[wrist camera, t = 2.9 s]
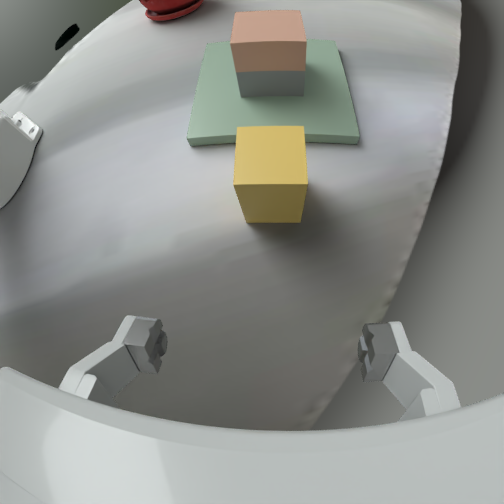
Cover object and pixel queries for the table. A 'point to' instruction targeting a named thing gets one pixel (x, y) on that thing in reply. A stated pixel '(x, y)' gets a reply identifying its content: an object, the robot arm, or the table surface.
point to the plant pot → (169, 8)
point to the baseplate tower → (272, 83)
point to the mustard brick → (271, 173)
